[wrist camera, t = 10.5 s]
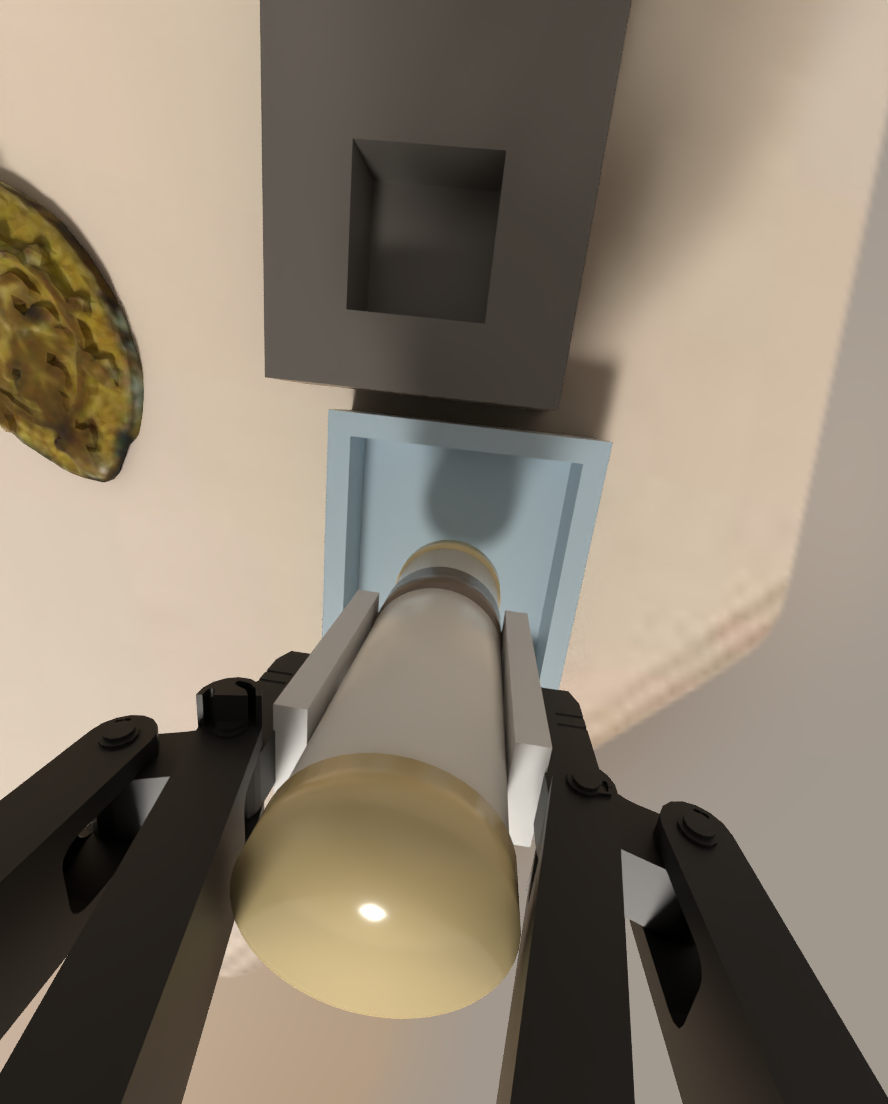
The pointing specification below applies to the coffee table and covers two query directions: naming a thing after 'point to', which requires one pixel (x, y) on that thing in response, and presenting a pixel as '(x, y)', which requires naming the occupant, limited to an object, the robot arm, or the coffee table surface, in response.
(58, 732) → the coffee table surface
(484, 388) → the fuse holder
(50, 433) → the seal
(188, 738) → the robot arm
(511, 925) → the cylinder
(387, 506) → the parts tray
